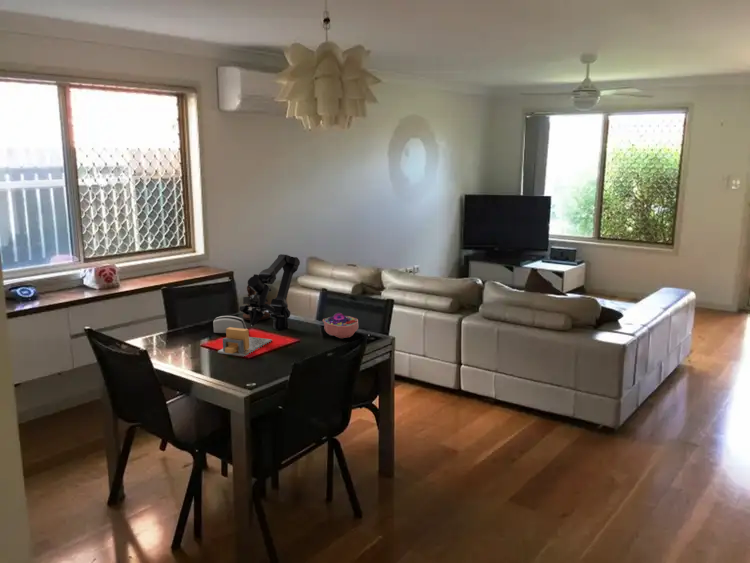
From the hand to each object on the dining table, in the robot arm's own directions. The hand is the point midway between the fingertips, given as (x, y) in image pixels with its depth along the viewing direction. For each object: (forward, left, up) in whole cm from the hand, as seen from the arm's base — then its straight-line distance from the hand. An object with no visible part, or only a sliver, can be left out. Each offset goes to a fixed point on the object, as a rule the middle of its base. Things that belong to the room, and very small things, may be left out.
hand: (251, 325), depth 302 cm
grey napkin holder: (+2, -24, -9) cm, 26 cm away
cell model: (-40, +14, -9) cm, 44 cm away
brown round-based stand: (-19, -40, -9) cm, 45 cm away
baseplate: (+5, +3, -9) cm, 10 cm away
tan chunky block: (+12, +9, -7) cm, 17 cm away
